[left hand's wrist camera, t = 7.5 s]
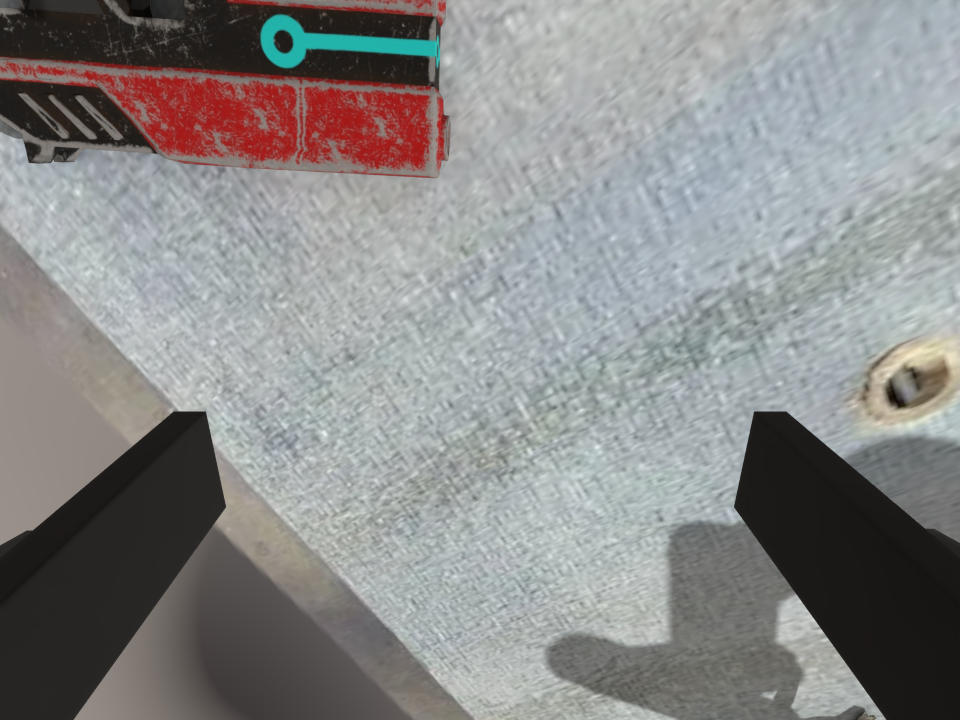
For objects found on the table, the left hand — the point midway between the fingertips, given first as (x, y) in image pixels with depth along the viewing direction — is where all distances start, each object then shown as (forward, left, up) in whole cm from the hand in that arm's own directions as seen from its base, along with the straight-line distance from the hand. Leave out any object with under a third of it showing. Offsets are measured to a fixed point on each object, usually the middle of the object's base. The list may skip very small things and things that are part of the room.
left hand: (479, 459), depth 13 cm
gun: (-9, -21, -31) cm, 38 cm away
